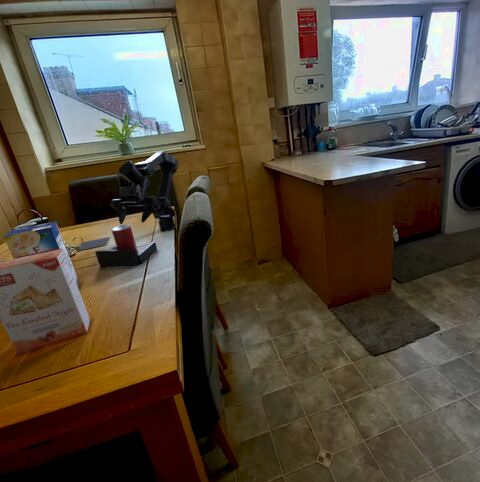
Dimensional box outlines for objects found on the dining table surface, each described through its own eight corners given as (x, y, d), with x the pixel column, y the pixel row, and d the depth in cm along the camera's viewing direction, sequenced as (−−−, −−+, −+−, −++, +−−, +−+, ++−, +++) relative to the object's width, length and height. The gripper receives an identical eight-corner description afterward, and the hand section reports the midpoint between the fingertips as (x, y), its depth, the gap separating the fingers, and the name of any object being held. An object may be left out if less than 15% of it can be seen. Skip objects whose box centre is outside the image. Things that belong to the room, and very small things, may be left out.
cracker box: (17, 356, 62) (-27, 275, 55) (27, 339, 67) (-12, 263, 60) (88, 334, 67) (56, 256, 60) (91, 320, 72) (62, 246, 65)
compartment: (120, 253, 113) (115, 237, 111) (158, 251, 111) (153, 235, 108) (99, 269, 101) (93, 251, 99) (140, 267, 99) (135, 249, 96)
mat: (109, 237, 134) (108, 237, 134) (105, 245, 124) (105, 244, 124) (83, 242, 131) (83, 242, 131) (77, 251, 121) (77, 250, 121)
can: (137, 252, 110) (128, 223, 106) (140, 257, 105) (131, 226, 101) (119, 257, 107) (110, 227, 103) (122, 263, 102) (112, 231, 98)
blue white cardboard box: (77, 293, 86) (51, 227, 78) (35, 305, 82) (2, 236, 74) (80, 283, 92) (56, 221, 84) (41, 294, 88) (11, 230, 80)
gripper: (105, 179, 109) (95, 215, 102) (149, 175, 106) (142, 211, 100) (123, 194, 119) (114, 227, 112) (163, 191, 116) (157, 224, 110)
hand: (131, 223), depth 108 cm, fingers open, 9 cm apart
